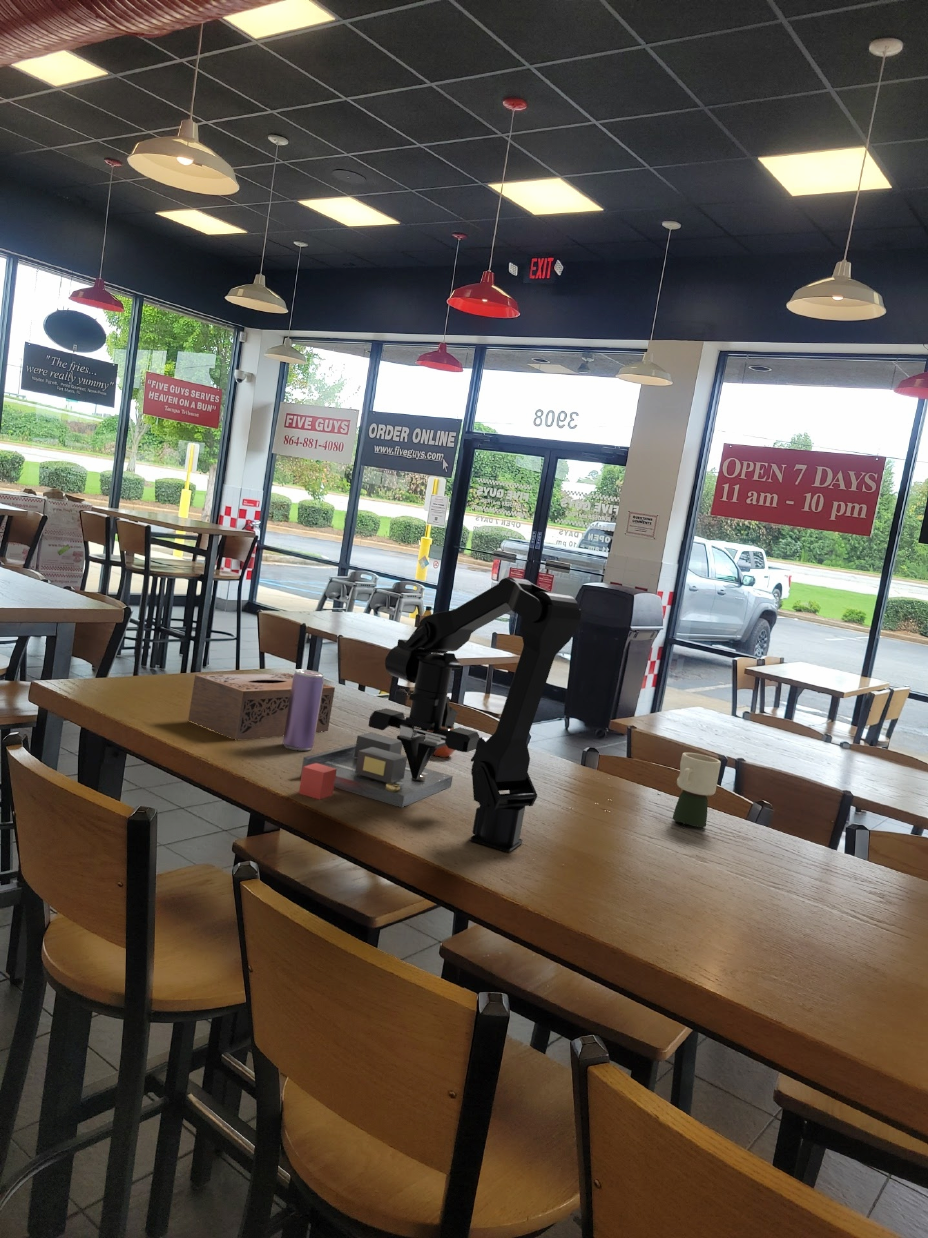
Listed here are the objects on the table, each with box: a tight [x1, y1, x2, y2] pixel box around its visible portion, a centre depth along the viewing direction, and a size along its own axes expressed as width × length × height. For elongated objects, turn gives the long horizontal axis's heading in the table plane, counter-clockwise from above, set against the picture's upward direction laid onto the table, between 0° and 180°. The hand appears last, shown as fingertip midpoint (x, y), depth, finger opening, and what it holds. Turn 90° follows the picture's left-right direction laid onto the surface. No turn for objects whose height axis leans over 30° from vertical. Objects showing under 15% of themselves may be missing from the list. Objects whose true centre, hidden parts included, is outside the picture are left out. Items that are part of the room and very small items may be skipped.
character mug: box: [672, 752, 722, 828], centre depth 167 cm, size 11×7×13 cm, turn 138°
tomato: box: [424, 726, 456, 758], centre depth 189 cm, size 7×7×8 cm
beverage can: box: [282, 669, 325, 752], centre depth 174 cm, size 6×6×15 cm
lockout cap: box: [298, 763, 337, 800], centre depth 146 cm, size 4×4×4 cm
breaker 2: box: [355, 747, 408, 783], centre depth 155 cm, size 7×5×4 cm
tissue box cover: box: [187, 672, 336, 741], centre depth 186 cm, size 26×14×10 cm, turn 145°
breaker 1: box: [354, 732, 403, 757], centre depth 167 cm, size 7×5×4 cm
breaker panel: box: [300, 743, 454, 808], centre depth 160 cm, size 20×20×4 cm
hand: (415, 778), depth 153 cm, fingers closed
